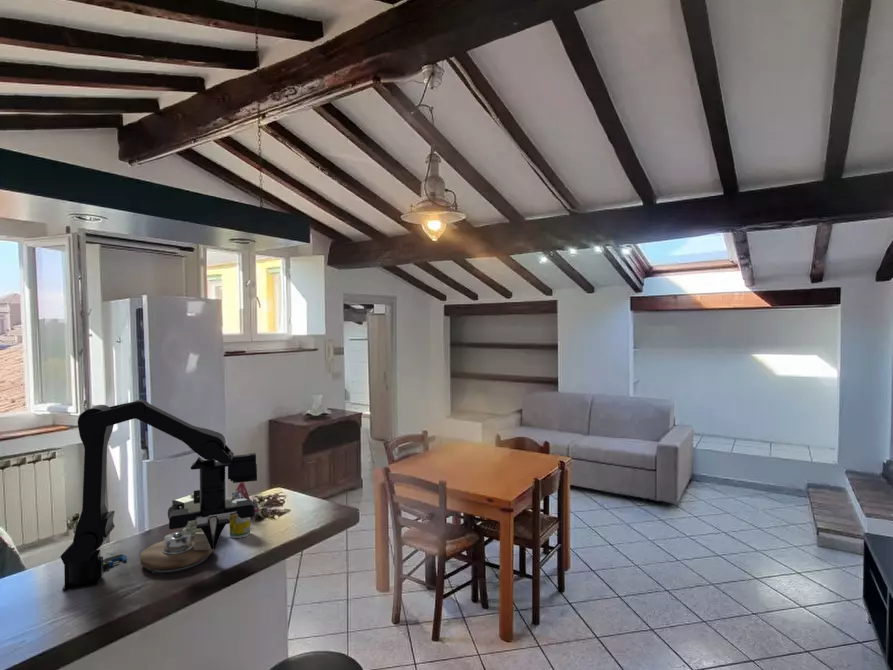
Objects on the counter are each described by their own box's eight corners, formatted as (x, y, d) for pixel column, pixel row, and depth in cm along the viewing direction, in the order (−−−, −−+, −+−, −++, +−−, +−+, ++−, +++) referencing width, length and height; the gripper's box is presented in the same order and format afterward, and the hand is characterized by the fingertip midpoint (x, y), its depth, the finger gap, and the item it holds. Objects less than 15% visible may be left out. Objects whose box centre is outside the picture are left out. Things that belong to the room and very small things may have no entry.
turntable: (193, 569, 118) (192, 546, 118) (125, 569, 119) (124, 546, 119) (224, 541, 134) (224, 520, 134) (164, 541, 135) (164, 520, 135)
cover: (184, 555, 123) (183, 538, 123) (156, 554, 123) (156, 538, 123) (198, 543, 130) (198, 527, 130) (172, 543, 130) (171, 527, 130)
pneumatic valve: (217, 531, 145) (217, 489, 145) (177, 546, 135) (176, 500, 135) (206, 527, 148) (205, 486, 148) (165, 541, 138) (165, 497, 138)
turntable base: (142, 578, 117) (142, 573, 117) (148, 554, 130) (147, 550, 130) (209, 566, 123) (209, 561, 123) (208, 544, 136) (208, 540, 136)
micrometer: (123, 551, 129) (130, 556, 125) (123, 558, 129) (130, 564, 125) (66, 566, 120) (72, 573, 116) (66, 574, 120) (72, 581, 116)
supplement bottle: (251, 536, 141) (250, 502, 141) (230, 540, 138) (229, 505, 138) (249, 529, 146) (249, 496, 146) (229, 533, 143) (228, 499, 143)
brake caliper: (272, 507, 157) (249, 482, 151) (245, 538, 150) (220, 512, 145) (253, 499, 164) (231, 475, 159) (227, 528, 158) (202, 504, 152)
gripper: (250, 471, 136) (251, 530, 136) (171, 481, 128) (171, 543, 128) (254, 483, 126) (255, 546, 126) (168, 494, 118) (169, 561, 118)
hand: (213, 548), depth 125 cm, fingers closed
